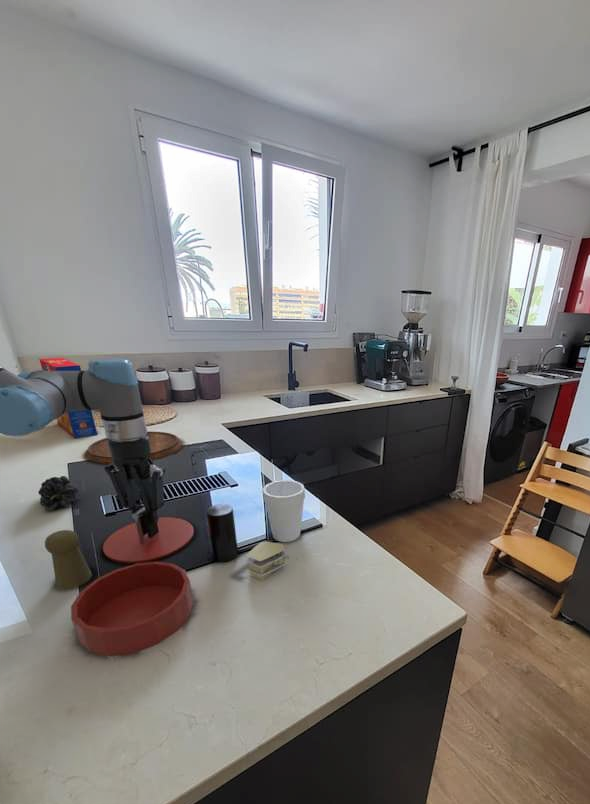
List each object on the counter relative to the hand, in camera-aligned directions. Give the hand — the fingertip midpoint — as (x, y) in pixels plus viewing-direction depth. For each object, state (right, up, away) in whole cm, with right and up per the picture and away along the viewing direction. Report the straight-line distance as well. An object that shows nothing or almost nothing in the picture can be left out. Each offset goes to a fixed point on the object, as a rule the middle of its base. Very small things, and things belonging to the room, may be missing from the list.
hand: (149, 533), depth 91 cm
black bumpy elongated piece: (-33, +6, +17) cm, 38 cm away
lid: (0, -1, +1) cm, 1 cm away
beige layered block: (+29, -7, -8) cm, 31 cm away
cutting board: (-35, +24, +57) cm, 71 cm away
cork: (-8, -8, -13) cm, 17 cm away
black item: (+19, -5, -4) cm, 20 cm away
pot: (+10, -12, -21) cm, 26 cm away
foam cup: (+31, -1, +4) cm, 31 cm away
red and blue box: (-73, +34, +78) cm, 112 cm away
